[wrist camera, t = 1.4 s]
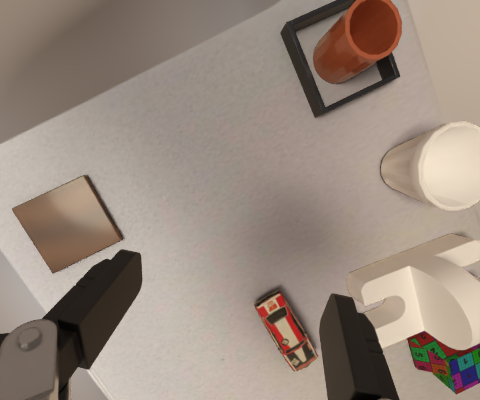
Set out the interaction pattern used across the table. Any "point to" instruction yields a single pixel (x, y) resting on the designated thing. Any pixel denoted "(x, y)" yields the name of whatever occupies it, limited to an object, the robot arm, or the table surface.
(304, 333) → the race car
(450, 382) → the multicoloured toy chair
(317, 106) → the dark grey square frame
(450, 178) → the cup
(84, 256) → the walnut board
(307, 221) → the table surface
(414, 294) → the bracket
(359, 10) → the terracotta cup
